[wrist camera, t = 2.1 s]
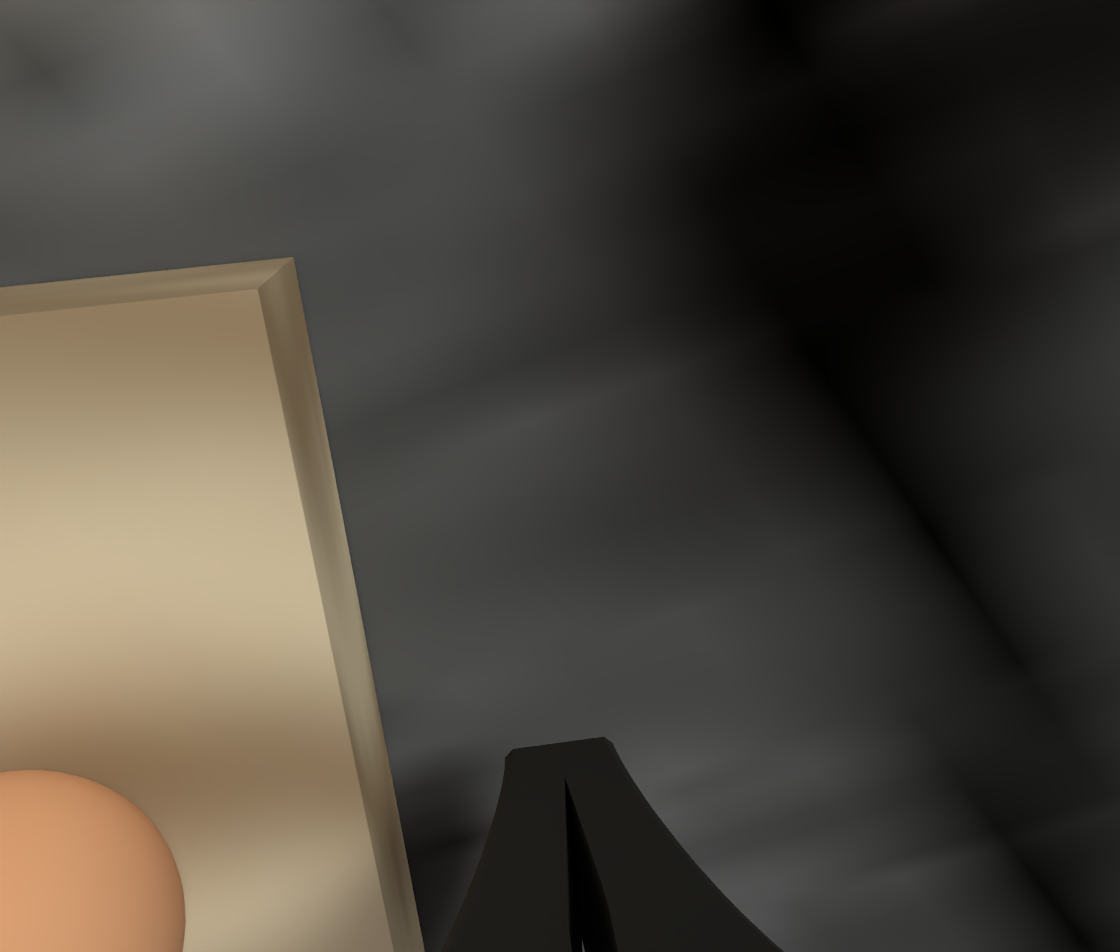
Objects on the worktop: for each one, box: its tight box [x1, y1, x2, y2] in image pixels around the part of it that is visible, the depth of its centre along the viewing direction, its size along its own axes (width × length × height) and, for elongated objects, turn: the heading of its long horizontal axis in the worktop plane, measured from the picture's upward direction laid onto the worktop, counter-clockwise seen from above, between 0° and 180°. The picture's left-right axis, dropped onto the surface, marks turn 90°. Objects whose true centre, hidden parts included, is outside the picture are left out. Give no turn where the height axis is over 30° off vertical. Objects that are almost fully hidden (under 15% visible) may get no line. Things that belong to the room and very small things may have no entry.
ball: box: [0, 770, 186, 952], centre depth 11 cm, size 4×4×4 cm
